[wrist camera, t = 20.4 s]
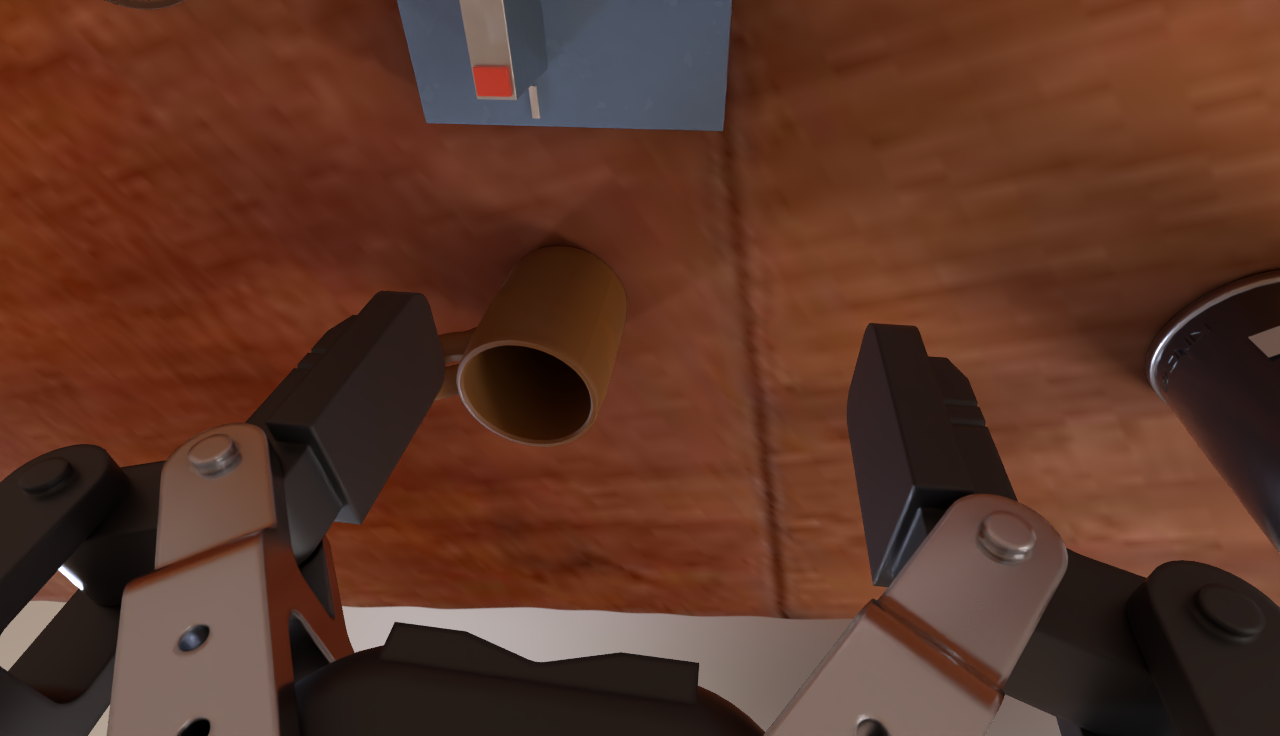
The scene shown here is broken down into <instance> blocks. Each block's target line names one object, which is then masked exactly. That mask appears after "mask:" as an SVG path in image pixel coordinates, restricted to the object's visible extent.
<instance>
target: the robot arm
mask: <svg viewBox="0 0 1280 736" xmlns="http://www.w3.org/2000/svg"><path fill="white" fill-rule="evenodd" d="M311 350H312V352H311V353H307V355H306V356H305V357H304V358H303V359H302V360H301V361H300V362H299V363H298V368H297V369H296V368H294V369H293V370H292V371H291V372H290V373H289V375H288V376H287V377H286V378H285V379H284V380H283V381H282V382H281V383H280V385H279V386H278V387H277V388H276V389H275V390H274V391H273V392H272V393H271V395H270V396H269V397H268V398H267V399H266V400H265V401H264V402H263V403H262V405H261V406H260V407H259V408H258V409H257V410H256V411H255V412H254V413H253V415H252V416H251V417H250V418H249V419H248V420H247V421H246V422H245V423H231V424H225V425H221V426H217V427H214V428H211V429H209V430H206V431H204V432H202V433H199V434H197V435H196V436H194V437H192V438H190V439H189V440H187V441H186V442H185V443H183V444H182V445H181V446H179V447H178V448H177V449H176V450H175V451H174V452H173V453H172V454H171V455H170V456H169V458H168V459H167V460H166V461H159V462H153V463H146V464H140V465H133V466H127V467H119V466H118V465H117V463H116V462H115V461H114V460H113V459H112V458H111V456H110V455H109V454H108V453H107V452H106V450H104V449H103V448H101V447H99V446H96V445H90V444H80V445H72V446H68V447H63V448H60V449H57V450H53V451H51V452H48V453H46V454H43V455H41V456H39V457H37V458H35V459H33V460H31V461H29V462H27V463H26V464H24V465H22V466H21V467H19V468H18V469H16V470H15V471H14V472H12V473H11V474H10V475H9V476H7V477H6V478H5V479H4V480H3V481H2V482H1V483H0V635H1V633H2V632H3V631H4V629H5V628H6V627H7V625H8V624H9V623H10V622H11V621H12V620H13V619H14V618H15V617H16V615H17V614H18V613H19V612H20V611H21V610H22V609H23V608H24V607H25V606H26V605H27V603H28V602H29V601H30V600H31V599H32V598H33V597H34V596H35V595H36V594H37V593H38V591H39V590H40V589H41V588H42V587H43V586H44V585H45V584H46V583H47V582H48V580H49V579H50V578H51V577H52V576H53V575H54V574H55V573H56V572H57V571H58V570H59V571H60V572H61V573H62V574H63V575H65V576H66V577H67V578H68V579H69V580H70V581H71V582H72V583H74V584H75V585H76V586H77V587H78V588H79V589H78V590H77V591H76V593H75V594H74V595H73V596H72V597H71V598H70V600H69V601H68V602H67V603H66V604H65V605H64V607H63V608H62V609H61V610H60V611H59V612H58V614H57V615H56V616H55V617H54V618H53V619H52V621H51V622H50V623H49V624H48V625H47V626H46V628H45V629H44V630H43V631H42V632H41V633H40V635H39V636H38V637H37V638H36V639H35V641H34V642H33V643H32V644H31V645H30V646H29V647H28V649H27V650H26V651H25V652H24V653H23V654H22V656H21V657H20V658H19V659H18V660H17V662H16V663H15V664H14V665H13V666H12V667H11V668H10V670H9V671H6V670H5V669H3V668H2V667H1V666H0V736H88V735H89V733H90V732H91V730H92V729H93V728H94V726H95V725H96V723H97V722H98V720H99V719H100V718H101V716H102V715H103V713H104V712H105V710H106V709H107V708H108V706H109V705H110V711H109V721H108V729H107V736H985V735H986V733H987V731H988V729H989V727H990V725H991V724H992V722H993V720H994V718H995V716H996V714H997V712H998V710H999V708H1000V706H1001V704H1002V701H1003V699H1004V696H1005V694H1006V695H1009V696H1011V697H1013V698H1015V699H1018V700H1020V701H1022V702H1024V703H1027V704H1029V705H1031V706H1033V707H1036V708H1038V709H1040V710H1042V711H1045V712H1047V713H1049V714H1051V715H1054V716H1056V718H1057V721H1058V725H1059V728H1060V732H1061V735H1062V736H1280V608H1279V607H1278V606H1277V605H1276V604H1275V603H1274V602H1273V601H1272V600H1271V599H1270V598H1268V597H1267V596H1266V595H1265V594H1263V593H1262V592H1261V591H1259V590H1258V589H1257V588H1255V587H1254V586H1252V585H1251V584H1249V583H1247V582H1246V581H1244V580H1243V579H1241V578H1239V577H1237V576H1235V575H1233V574H1231V573H1229V572H1227V571H1224V570H1222V569H1220V568H1217V567H1214V566H1211V565H1208V564H1204V563H1199V562H1194V561H1184V560H1180V561H1171V562H1167V563H1164V564H1162V565H1160V566H1158V567H1157V568H1156V569H1155V570H1154V571H1153V572H1152V573H1151V574H1150V575H1149V576H1148V577H1147V578H1145V577H1142V576H1139V575H1136V574H1134V573H1131V572H1128V571H1125V570H1122V569H1119V568H1116V567H1114V566H1111V565H1108V564H1105V563H1102V562H1099V561H1096V560H1094V559H1091V558H1088V557H1085V556H1083V555H1080V554H1078V553H1075V552H1073V551H1071V550H1070V549H1068V548H1066V547H1065V544H1064V542H1063V540H1062V539H1061V537H1060V535H1059V534H1058V532H1057V531H1056V530H1055V529H1054V527H1053V526H1052V525H1051V524H1050V523H1049V522H1048V521H1047V520H1046V519H1045V518H1043V517H1042V516H1041V515H1039V514H1038V513H1037V512H1035V511H1034V510H1032V509H1031V508H1029V507H1027V506H1026V505H1024V504H1021V503H1019V502H1018V501H1017V498H1016V496H1015V493H1014V491H1013V488H1012V486H1011V483H1010V481H1009V479H1008V476H1007V474H1006V471H1005V469H1004V466H1003V464H1002V461H1001V459H1000V456H999V454H998V451H997V449H996V447H995V444H994V442H993V439H992V437H991V434H990V432H989V429H988V427H985V419H984V417H983V415H982V412H981V410H980V407H977V403H978V402H977V400H976V397H975V395H974V392H973V390H972V388H971V385H970V383H969V380H968V379H967V378H966V377H965V376H964V375H963V374H962V373H961V372H960V371H959V370H958V369H957V368H956V367H955V366H954V365H953V364H952V363H951V362H950V361H949V360H948V359H947V358H942V357H928V355H927V352H926V349H925V347H924V344H923V341H922V338H921V335H920V332H919V330H918V328H917V327H916V326H907V325H892V324H876V323H870V324H869V325H868V326H867V328H866V330H865V333H864V337H863V340H862V344H861V348H860V352H859V356H858V359H857V363H856V367H855V371H854V374H853V378H852V382H851V386H850V390H849V395H848V402H847V425H848V432H849V438H850V444H851V450H852V456H853V463H854V469H855V475H856V481H857V487H858V493H859V500H860V506H861V512H862V518H863V524H864V531H865V537H866V543H867V549H868V555H869V562H870V568H871V574H872V580H873V585H874V586H882V587H888V588H887V589H886V591H885V592H884V593H883V594H882V596H881V597H880V598H879V599H878V600H875V599H872V600H870V601H869V602H868V603H867V604H866V605H865V606H864V607H863V608H862V610H861V611H860V612H859V613H858V615H857V616H856V617H855V618H854V620H853V621H852V622H851V624H850V625H849V626H848V628H847V629H846V630H845V631H844V633H843V634H842V635H841V636H840V638H839V639H838V640H837V641H836V643H835V644H834V645H833V647H832V648H831V649H830V650H829V652H828V653H827V654H826V656H825V657H824V658H823V659H822V661H821V662H820V663H819V665H818V666H817V667H816V668H815V670H814V671H813V672H812V674H811V675H810V676H809V677H808V679H807V680H806V681H805V682H804V684H803V685H802V687H801V688H800V689H799V690H798V692H797V693H796V694H795V695H794V697H793V698H792V699H791V701H790V702H789V703H788V704H787V706H786V707H785V708H784V710H783V711H782V712H781V713H780V715H779V716H778V717H777V718H776V720H775V721H774V722H773V724H772V725H771V726H770V727H769V729H768V730H767V731H766V733H765V732H764V731H763V730H762V729H761V728H760V727H759V726H758V725H757V724H756V723H755V722H754V721H753V720H752V719H751V718H750V717H749V716H748V715H746V714H745V713H744V712H742V711H741V710H740V709H739V708H737V707H736V706H735V705H733V704H732V703H730V702H729V701H727V700H725V699H724V698H722V697H720V696H719V695H717V694H715V693H713V692H711V691H709V690H706V689H704V688H702V687H700V686H698V671H699V663H695V662H688V661H680V660H673V659H665V658H658V657H651V656H643V655H636V654H629V653H613V654H605V655H597V656H590V657H581V658H574V659H566V660H558V661H550V662H534V661H531V660H528V659H526V658H524V657H522V656H519V655H517V654H515V653H512V652H510V651H508V650H506V649H504V648H501V647H499V646H497V645H495V644H492V643H490V642H488V641H486V640H484V639H481V638H479V637H477V636H475V635H473V634H470V633H468V632H465V631H458V630H450V629H443V628H436V627H428V626H421V625H414V624H406V623H398V622H395V623H394V625H393V627H392V629H391V632H390V634H389V636H388V638H387V640H386V642H385V645H384V646H379V647H375V648H371V649H367V650H363V651H359V652H356V653H354V651H353V648H352V646H351V643H350V641H349V637H348V635H347V630H346V626H345V621H344V615H343V610H342V605H341V599H340V594H339V589H338V583H337V578H336V573H335V567H334V562H333V557H332V552H331V546H330V543H329V540H328V539H327V537H326V535H325V534H326V532H327V531H328V529H329V527H330V526H331V524H332V523H333V521H336V522H344V523H353V524H362V522H363V520H364V519H365V517H366V515H367V513H368V512H369V510H370V508H371V507H372V505H373V503H374V502H375V500H376V498H377V497H378V495H379V493H380V491H381V490H382V488H383V486H384V485H385V483H386V481H387V480H388V478H389V476H390V474H391V473H392V471H393V469H394V468H395V466H396V464H397V463H398V461H399V459H400V458H401V456H402V454H403V452H404V451H405V449H406V447H407V446H408V444H409V442H410V441H411V439H412V437H413V435H414V434H415V432H416V430H417V429H418V427H419V425H420V424H421V422H422V420H423V419H424V417H425V415H426V413H427V412H428V410H429V408H430V407H431V405H432V403H433V402H434V400H435V398H436V397H437V395H438V393H439V391H440V390H441V388H442V385H443V382H444V377H445V358H444V354H443V351H442V347H441V344H440V340H439V337H438V333H437V330H436V326H435V323H434V319H433V316H432V313H431V309H430V306H429V303H428V300H427V299H426V297H425V296H424V295H423V294H421V293H410V292H395V291H380V292H378V293H376V294H375V295H374V297H373V298H372V299H371V300H370V301H369V302H368V304H367V305H366V306H365V307H364V308H363V309H362V310H361V312H360V313H359V314H358V315H352V316H351V317H349V318H348V319H346V320H344V321H343V322H341V323H339V324H338V325H336V326H335V327H333V328H331V329H330V330H328V331H327V332H326V333H325V335H324V336H323V337H322V338H321V339H320V340H319V341H318V342H317V343H316V345H315V346H314V347H313V348H312V349H311ZM1145 371H1146V376H1147V379H1148V381H1149V383H1150V385H1151V386H1152V388H1153V389H1154V390H1155V392H1156V393H1157V394H1158V396H1159V397H1160V398H1161V399H1162V400H1163V401H1164V402H1165V403H1167V404H1168V405H1169V407H1170V408H1171V409H1172V411H1173V412H1174V413H1175V415H1176V416H1177V417H1178V419H1179V420H1180V421H1181V423H1182V424H1183V425H1184V427H1185V428H1186V430H1187V431H1188V432H1189V434H1190V435H1191V437H1192V438H1193V439H1194V441H1195V442H1196V443H1197V445H1198V446H1199V447H1200V449H1201V450H1202V451H1203V453H1204V454H1205V455H1206V457H1207V458H1208V459H1209V461H1210V462H1211V463H1212V465H1213V466H1214V467H1215V469H1216V470H1217V471H1218V472H1219V474H1220V475H1221V476H1222V478H1223V479H1224V480H1225V482H1226V483H1227V484H1228V486H1229V487H1230V488H1231V490H1232V491H1233V492H1234V494H1235V495H1236V496H1237V498H1238V499H1239V500H1240V502H1241V503H1242V504H1243V506H1244V507H1245V508H1246V510H1247V511H1248V512H1249V514H1250V515H1251V516H1252V518H1253V519H1254V520H1255V522H1256V523H1257V524H1258V526H1259V527H1260V528H1261V530H1262V531H1263V532H1264V534H1265V535H1266V536H1267V538H1268V539H1269V540H1270V542H1271V543H1272V544H1273V546H1274V547H1275V548H1276V550H1277V551H1278V552H1279V554H1280V270H1278V271H1272V272H1267V273H1262V274H1258V275H1254V276H1250V277H1247V278H1244V279H1240V280H1238V281H1235V282H1232V283H1230V284H1227V285H1225V286H1222V287H1220V288H1218V289H1216V290H1214V291H1212V292H1210V293H1208V294H1206V295H1204V296H1203V297H1201V298H1199V299H1197V300H1196V301H1194V302H1193V303H1191V304H1190V305H1188V306H1187V307H1185V308H1184V309H1183V310H1181V311H1180V312H1179V313H1178V314H1177V315H1175V316H1174V317H1173V318H1172V319H1171V320H1170V321H1169V322H1168V323H1167V324H1166V325H1165V326H1164V327H1163V328H1162V329H1161V331H1160V332H1159V333H1158V335H1157V336H1156V337H1155V339H1154V341H1153V342H1152V344H1151V346H1150V348H1149V351H1148V353H1147V357H1146V362H1145Z"/></svg>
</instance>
